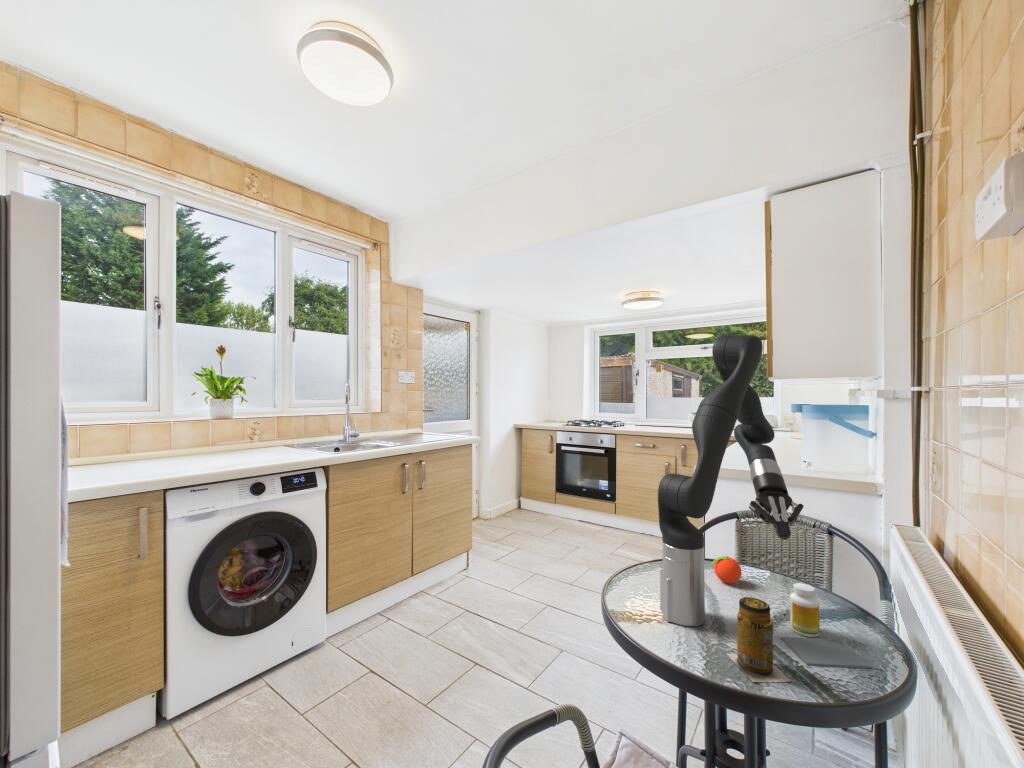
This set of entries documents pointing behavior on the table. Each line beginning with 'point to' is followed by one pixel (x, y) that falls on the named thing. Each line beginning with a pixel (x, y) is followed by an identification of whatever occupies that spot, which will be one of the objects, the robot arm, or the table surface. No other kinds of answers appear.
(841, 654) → the mat
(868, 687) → the table surface
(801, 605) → the supplement bottle
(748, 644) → the condiment
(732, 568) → the clementine
